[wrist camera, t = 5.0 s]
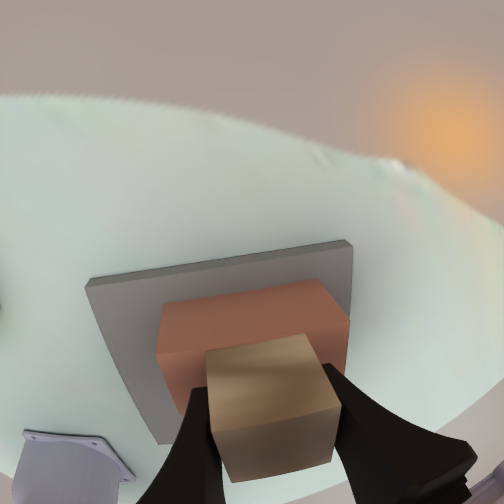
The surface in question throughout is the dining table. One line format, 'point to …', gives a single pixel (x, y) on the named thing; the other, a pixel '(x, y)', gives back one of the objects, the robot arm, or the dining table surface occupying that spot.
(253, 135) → the dining table surface
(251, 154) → the dining table surface
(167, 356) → the terracotta brick
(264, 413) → the beech cube
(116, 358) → the building plate
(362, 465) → the robot arm
